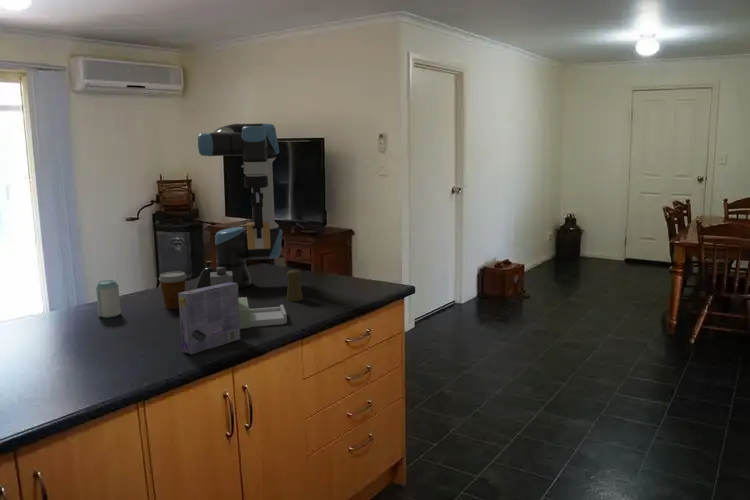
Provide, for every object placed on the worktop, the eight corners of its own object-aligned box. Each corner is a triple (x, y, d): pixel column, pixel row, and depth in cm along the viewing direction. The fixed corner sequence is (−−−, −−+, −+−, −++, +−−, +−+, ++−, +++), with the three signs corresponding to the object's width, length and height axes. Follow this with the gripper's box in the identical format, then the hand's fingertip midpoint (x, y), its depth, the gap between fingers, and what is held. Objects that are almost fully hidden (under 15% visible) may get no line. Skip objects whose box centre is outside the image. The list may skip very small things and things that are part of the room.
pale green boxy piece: (205, 317, 215) (202, 265, 212) (282, 311, 221) (280, 260, 218) (204, 331, 200) (201, 275, 197) (287, 324, 206) (285, 270, 203)
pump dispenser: (219, 313, 219) (216, 270, 216) (191, 312, 221) (188, 269, 218) (231, 305, 229) (229, 264, 226) (204, 304, 231) (202, 263, 228)
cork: (304, 300, 235) (303, 271, 233) (288, 302, 233) (287, 272, 231) (300, 296, 241) (299, 268, 239) (284, 298, 239) (283, 269, 237)
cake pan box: (234, 335, 196) (231, 279, 193) (244, 338, 193) (241, 282, 190) (180, 352, 181) (176, 292, 178) (190, 356, 178) (186, 295, 175)
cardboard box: (247, 246, 209) (246, 222, 208) (269, 245, 211) (268, 221, 209) (248, 249, 204) (247, 224, 202) (270, 248, 205) (269, 223, 204)
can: (112, 311, 223) (109, 278, 221) (125, 314, 219) (122, 280, 217) (94, 316, 217) (91, 282, 215) (107, 319, 213) (104, 285, 211)
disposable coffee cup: (167, 311, 222) (164, 278, 220) (156, 306, 230) (154, 273, 227) (192, 306, 228) (190, 274, 226) (182, 301, 235) (179, 270, 233)
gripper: (243, 173, 211) (246, 242, 215) (244, 177, 193) (248, 252, 197) (265, 173, 213) (268, 240, 217) (269, 176, 195) (272, 250, 199)
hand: (258, 246), depth 207 cm, fingers closed on cardboard box, 6 cm apart
